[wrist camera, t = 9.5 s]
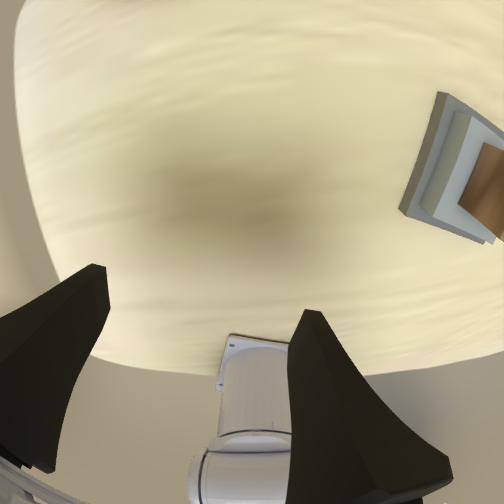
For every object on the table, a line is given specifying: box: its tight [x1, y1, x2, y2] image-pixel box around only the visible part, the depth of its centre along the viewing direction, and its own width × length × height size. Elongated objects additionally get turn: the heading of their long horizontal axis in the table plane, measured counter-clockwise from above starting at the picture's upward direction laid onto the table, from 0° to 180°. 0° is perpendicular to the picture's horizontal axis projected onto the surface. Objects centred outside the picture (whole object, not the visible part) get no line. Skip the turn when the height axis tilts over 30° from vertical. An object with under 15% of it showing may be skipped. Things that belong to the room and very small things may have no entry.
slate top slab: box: [419, 111, 504, 244], centre depth 15 cm, size 7×7×2 cm
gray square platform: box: [398, 92, 504, 244], centre depth 16 cm, size 9×9×2 cm
